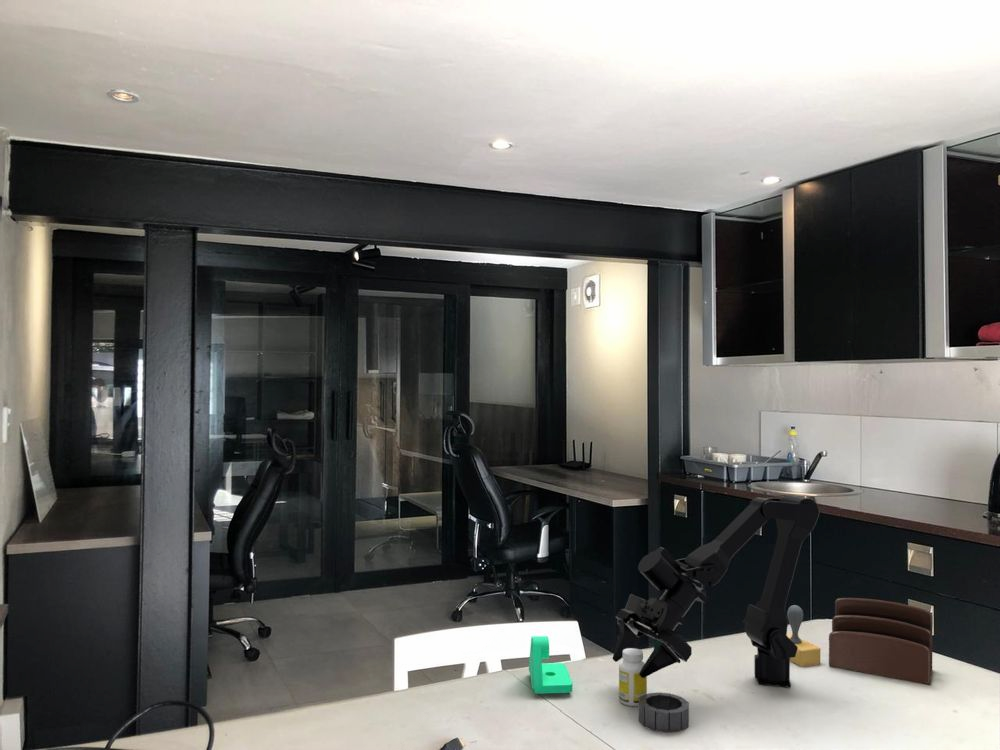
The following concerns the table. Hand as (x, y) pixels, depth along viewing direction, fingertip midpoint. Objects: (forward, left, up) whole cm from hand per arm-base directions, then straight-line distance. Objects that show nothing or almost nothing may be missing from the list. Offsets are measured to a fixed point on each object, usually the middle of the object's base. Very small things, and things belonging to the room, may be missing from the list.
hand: (627, 668), depth 153 cm
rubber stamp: (-35, -35, -7) cm, 50 cm away
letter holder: (-52, -34, -7) cm, 62 cm away
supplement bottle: (-1, -1, -7) cm, 7 cm away
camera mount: (+16, -4, -7) cm, 18 cm away
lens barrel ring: (-7, +7, -7) cm, 12 cm away
